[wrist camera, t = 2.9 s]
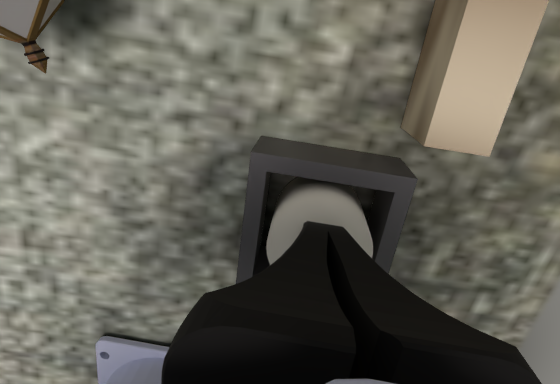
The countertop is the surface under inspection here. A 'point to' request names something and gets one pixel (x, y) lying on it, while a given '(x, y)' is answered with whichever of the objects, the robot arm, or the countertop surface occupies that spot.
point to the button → (315, 213)
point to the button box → (333, 168)
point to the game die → (27, 25)
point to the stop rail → (470, 71)
